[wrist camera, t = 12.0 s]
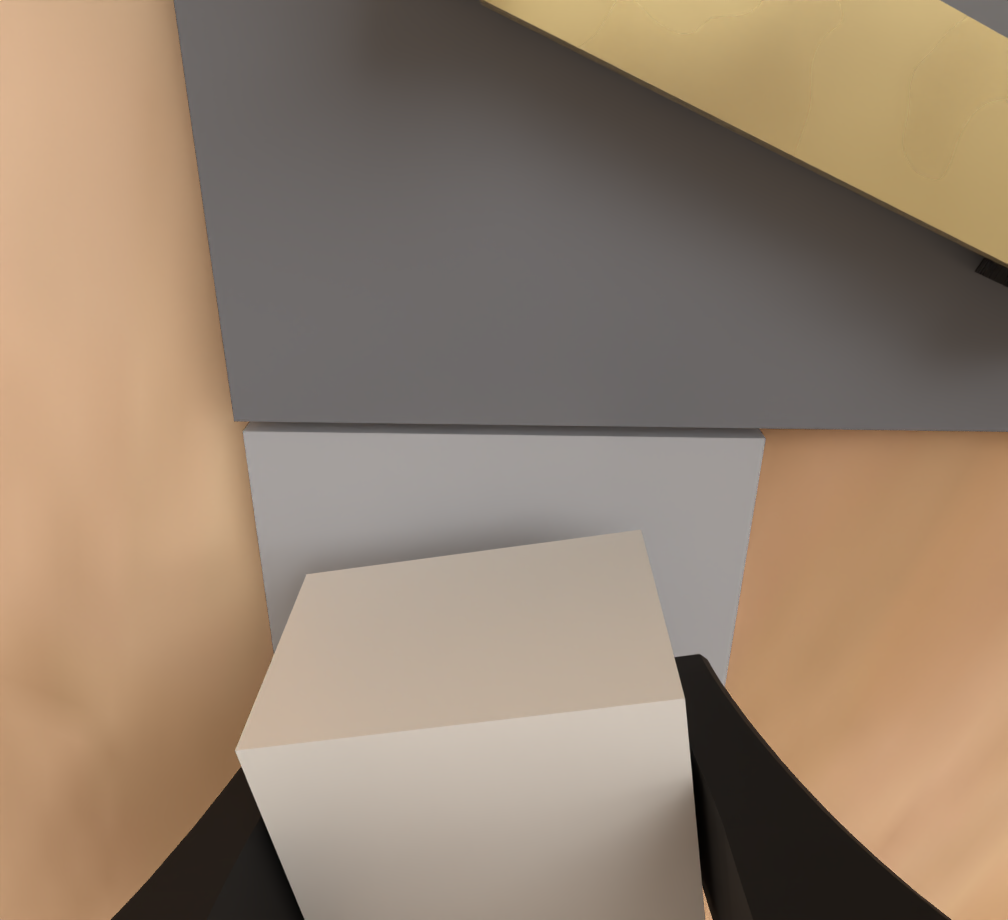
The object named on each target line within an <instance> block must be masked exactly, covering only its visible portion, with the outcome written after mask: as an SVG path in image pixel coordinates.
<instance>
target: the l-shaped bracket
mask: <svg viewBox="0 0 1008 920" xmlns="http://www.w3.org/2000/svg"><path fill="white" fill-rule="evenodd" d="M479 1H480V2H481V4H482V5H483V6H485V7H487V8H489V9H491V10H493V11H495V12H497V13H499V14H501V15H503V16H505V17H507V18H509V19H511V20H513V21H515V22H516V23H518V24H520V25H522V26H524V27H526V28H528V29H530V30H532V31H534V32H536V33H538V34H540V35H542V36H544V37H546V38H548V39H550V40H552V41H554V42H556V43H558V44H560V45H562V46H564V47H566V48H568V49H570V50H572V51H574V52H576V53H578V54H580V55H582V56H584V57H586V58H588V59H590V60H592V61H594V62H596V63H598V64H600V65H602V66H604V67H606V68H608V69H610V70H612V71H614V72H616V73H618V74H620V75H622V76H624V77H626V78H628V79H630V80H632V81H634V82H636V83H638V84H640V85H642V86H644V87H646V88H648V89H650V90H652V91H654V92H656V93H658V94H660V95H662V96H664V97H666V98H668V99H670V100H672V101H674V102H676V103H678V104H680V105H682V106H684V107H686V108H688V109H690V110H692V111H694V112H696V113H698V114H700V115H702V116H704V117H706V118H708V119H710V120H712V121H714V122H716V123H718V124H720V125H722V126H724V127H726V128H728V129H730V130H732V131H734V132H736V133H737V134H739V135H741V136H743V137H745V138H747V139H749V140H751V141H753V142H755V143H757V144H759V145H761V146H763V147H765V148H767V149H769V150H771V151H773V152H775V153H777V154H779V155H781V156H783V157H785V158H787V159H789V160H791V161H793V162H795V163H797V164H799V165H801V166H803V167H805V168H807V169H809V170H811V171H813V172H815V173H817V174H819V175H821V176H823V177H825V178H827V179H829V180H831V181H833V182H835V183H837V184H839V185H841V186H843V187H845V188H847V189H849V190H851V191H853V192H855V193H857V194H859V195H861V196H863V197H865V198H867V199H869V200H871V201H873V202H875V203H877V204H879V205H881V206H883V207H885V208H887V209H889V210H891V211H893V212H895V213H897V214H899V215H901V216H903V217H905V218H907V219H909V220H911V221H913V222H915V223H917V224H919V225H921V226H923V227H925V228H927V229H929V230H931V231H933V232H935V233H937V234H939V235H941V236H943V237H945V238H947V239H949V240H951V241H953V242H955V243H957V244H959V245H960V246H962V247H964V248H966V249H968V250H970V251H972V252H974V253H976V254H978V255H980V256H982V257H984V258H983V259H982V261H981V262H980V264H979V265H978V267H977V268H976V270H975V271H974V272H976V273H978V274H980V275H982V276H984V277H986V278H988V279H990V280H992V281H994V282H996V283H998V284H1000V285H1002V286H1004V287H1006V288H1008V38H1006V37H1005V36H1003V35H1001V34H999V33H997V32H996V31H994V30H992V29H990V28H989V27H987V26H985V25H983V24H981V23H980V22H978V21H976V20H974V19H973V18H971V17H969V16H967V15H965V14H964V13H962V12H960V11H958V10H956V9H955V8H953V7H951V6H949V5H948V4H946V3H944V2H942V1H940V0H479Z"/></svg>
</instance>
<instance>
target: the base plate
mask: <svg viewBox="0 0 1008 920" xmlns="http://www.w3.org/2000/svg"><path fill="white" fill-rule="evenodd" d="M940 1H942V2H944V3H946V4H948V5H949V6H951V7H953V8H955V9H956V10H958V11H960V12H962V13H964V14H965V15H967V16H969V17H971V18H973V19H974V20H976V21H978V22H980V23H981V24H983V25H985V26H987V27H989V28H990V29H992V30H994V31H996V32H997V33H999V34H1001V35H1003V36H1005V37H1006V38H1008V0H940ZM174 6H175V13H176V20H177V26H178V33H179V40H180V47H181V54H182V61H183V68H184V75H185V82H186V89H187V96H188V103H189V110H190V117H191V124H192V131H193V138H194V145H195V152H196V159H197V166H198V173H199V179H200V186H201V193H202V200H203V207H204V214H205V221H206V228H207V235H208V242H209V249H210V256H211V263H212V270H213V277H214V284H215V291H216V298H217V305H218V312H219V319H220V325H221V332H222V339H223V346H224V353H225V360H226V367H227V374H228V381H229V388H230V395H231V402H232V409H233V416H234V421H252V422H326V423H400V424H474V425H547V426H621V427H695V428H769V429H843V430H917V431H991V432H1008V288H1006V287H1004V286H1002V285H1000V284H998V283H996V282H994V281H992V280H990V279H988V278H986V277H984V276H982V275H980V274H978V273H976V272H974V271H975V270H976V268H977V267H978V265H979V264H980V262H981V261H982V259H983V258H984V257H982V256H980V255H978V254H976V253H974V252H972V251H970V250H968V249H966V248H964V247H962V246H960V245H959V244H957V243H955V242H953V241H951V240H949V239H947V238H945V237H943V236H941V235H939V234H937V233H935V232H933V231H931V230H929V229H927V228H925V227H923V226H921V225H919V224H917V223H915V222H913V221H911V220H909V219H907V218H905V217H903V216H901V215H899V214H897V213H895V212H893V211H891V210H889V209H887V208H885V207H883V206H881V205H879V204H877V203H875V202H873V201H871V200H869V199H867V198H865V197H863V196H861V195H859V194H857V193H855V192H853V191H851V190H849V189H847V188H845V187H843V186H841V185H839V184H837V183H835V182H833V181H831V180H829V179H827V178H825V177H823V176H821V175H819V174H817V173H815V172H813V171H811V170H809V169H807V168H805V167H803V166H801V165H799V164H797V163H795V162H793V161H791V160H789V159H787V158H785V157H783V156H781V155H779V154H777V153H775V152H773V151H771V150H769V149H767V148H765V147H763V146H761V145H759V144H757V143H755V142H753V141H751V140H749V139H747V138H745V137H743V136H741V135H739V134H737V133H736V132H734V131H732V130H730V129H728V128H726V127H724V126H722V125H720V124H718V123H716V122H714V121H712V120H710V119H708V118H706V117H704V116H702V115H700V114H698V113H696V112H694V111H692V110H690V109H688V108H686V107H684V106H682V105H680V104H678V103H676V102H674V101H672V100H670V99H668V98H666V97H664V96H662V95H660V94H658V93H656V92H654V91H652V90H650V89H648V88H646V87H644V86H642V85H640V84H638V83H636V82H634V81H632V80H630V79H628V78H626V77H624V76H622V75H620V74H618V73H616V72H614V71H612V70H610V69H608V68H606V67H604V66H602V65H600V64H598V63H596V62H594V61H592V60H590V59H588V58H586V57H584V56H582V55H580V54H578V53H576V52H574V51H572V50H570V49H568V48H566V47H564V46H562V45H560V44H558V43H556V42H554V41H552V40H550V39H548V38H546V37H544V36H542V35H540V34H538V33H536V32H534V31H532V30H530V29H528V28H526V27H524V26H522V25H520V24H518V23H516V22H515V21H513V20H511V19H509V18H507V17H505V16H503V15H501V14H499V13H497V12H495V11H493V10H491V9H489V8H487V7H485V6H483V5H482V4H481V2H480V1H479V0H174Z"/></svg>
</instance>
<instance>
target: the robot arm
mask: <svg viewBox="0 0 1008 920" xmlns="http://www.w3.org/2000/svg"><path fill="white" fill-rule="evenodd" d="M674 658H675V662H676V666H677V670H678V673H679V677H680V681H681V685H682V689H683V693H684V697H685V704H686V715H687V726H688V737H689V748H690V759H691V769H692V780H693V791H694V802H695V813H696V824H697V835H698V846H699V857H700V868H701V879H702V886H703V890H704V893H705V896H706V899H707V903H708V906H709V909H710V912H711V915H712V919H713V920H951V919H950V918H949V917H947V916H946V915H945V914H944V913H942V912H941V911H940V910H939V909H937V908H936V907H935V906H933V905H932V904H931V903H930V902H928V901H927V900H926V899H924V898H923V897H922V896H921V895H919V894H918V893H917V892H916V891H914V890H913V889H912V888H911V887H910V886H909V885H907V884H906V883H905V882H904V881H903V880H902V879H901V878H899V877H898V876H897V875H896V874H895V873H894V872H893V871H891V870H890V869H889V868H888V867H887V866H886V865H884V864H883V863H882V862H881V861H880V860H879V859H878V858H877V857H875V856H874V855H873V854H872V853H871V852H870V851H869V850H868V849H867V848H866V847H865V846H864V845H863V844H861V843H860V842H859V841H858V840H857V839H856V838H855V837H854V836H853V835H852V834H851V833H850V832H849V831H848V830H847V829H846V828H845V827H844V826H842V825H841V824H840V823H839V822H838V821H837V820H836V819H835V818H834V817H833V816H832V815H831V814H830V813H829V812H828V811H827V810H826V808H825V807H824V806H823V805H822V804H821V803H820V802H819V801H818V800H817V799H816V798H815V797H814V796H813V795H812V794H811V793H810V792H809V791H808V789H807V788H806V787H805V786H804V785H803V784H802V783H801V782H800V781H799V780H798V779H797V778H796V776H795V775H794V774H793V773H792V772H791V771H790V770H789V769H788V767H787V766H786V765H785V764H784V763H783V762H782V761H781V759H780V758H779V757H778V756H777V755H776V753H775V752H774V751H773V750H772V749H771V747H770V746H769V745H768V744H767V743H766V741H765V740H764V739H763V738H762V737H761V735H760V734H759V733H758V732H757V730H756V729H755V728H754V727H753V725H752V724H751V723H750V722H749V720H748V719H747V718H746V716H745V715H744V714H743V712H742V711H741V710H740V708H739V707H738V705H737V704H736V703H735V701H734V700H733V699H732V697H731V696H730V694H729V693H728V692H727V690H726V689H725V687H724V686H723V684H722V683H721V681H720V680H719V678H718V676H717V675H716V673H715V672H714V670H713V668H712V666H711V665H710V663H709V661H708V659H706V658H705V657H704V656H702V655H701V654H694V655H687V656H679V657H674ZM111 920H304V917H303V915H302V912H301V910H300V907H299V905H298V903H297V900H296V898H295V895H294V893H293V890H292V888H291V886H290V883H289V881H288V878H287V876H286V873H285V871H284V869H283V866H282V864H281V861H280V859H279V856H278V854H277V852H276V849H275V847H274V844H273V842H272V839H271V837H270V835H269V832H268V830H267V827H266V825H265V822H264V820H263V818H262V815H261V813H260V810H259V808H258V806H257V803H256V801H255V798H254V796H253V793H252V791H251V789H250V786H249V784H248V781H247V779H246V776H245V774H244V772H243V769H242V767H241V768H240V769H239V770H238V771H237V773H236V774H235V775H234V777H233V778H232V779H231V781H230V782H229V783H228V785H227V786H226V787H225V788H224V790H223V791H222V792H221V793H220V795H219V796H218V797H217V798H216V800H215V801H214V802H213V803H212V805H211V806H210V807H209V809H208V810H207V811H206V812H205V814H204V815H203V816H202V817H201V819H200V820H199V821H198V822H197V824H196V825H195V826H194V827H193V828H192V830H191V831H190V832H189V833H188V834H187V835H186V837H185V838H184V839H183V840H182V841H181V842H180V844H179V845H178V846H177V847H176V848H175V849H174V851H173V852H172V853H171V854H170V855H169V856H168V858H167V859H166V860H165V861H164V862H163V863H162V865H161V866H160V867H159V868H158V869H157V870H156V872H155V873H154V874H153V875H152V876H151V877H150V879H149V880H148V881H147V882H146V883H145V884H144V885H143V886H142V887H141V888H140V890H139V891H138V892H137V893H136V894H135V895H134V896H133V897H132V898H131V899H130V900H129V901H128V902H127V903H126V904H125V905H124V907H123V908H122V909H121V910H120V911H119V912H118V913H117V914H116V915H115V916H114V917H113V918H112V919H111Z"/></svg>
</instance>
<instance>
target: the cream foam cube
mask: <svg viewBox="0 0 1008 920" xmlns="http://www.w3.org/2000/svg"><path fill="white" fill-rule="evenodd" d="M235 752H236V755H237V757H238V759H239V762H240V764H241V767H242V769H243V772H244V774H245V776H246V779H247V781H248V784H249V786H250V789H251V791H252V793H253V796H254V798H255V801H256V803H257V806H258V808H259V810H260V813H261V815H262V818H263V820H264V822H265V825H266V827H267V830H268V832H269V835H270V837H271V839H272V842H273V844H274V847H275V849H276V852H277V854H278V856H279V859H280V861H281V864H282V866H283V869H284V871H285V873H286V876H287V878H288V881H289V883H290V886H291V888H292V890H293V893H294V895H295V898H296V900H297V903H298V905H299V907H300V910H301V912H302V915H303V917H304V920H705V912H704V901H703V890H702V879H701V868H700V857H699V846H698V835H697V824H696V813H695V802H694V791H693V780H692V769H691V759H690V748H689V737H688V726H687V715H686V704H685V697H684V693H683V689H682V685H681V681H680V677H679V673H678V670H677V666H676V662H675V658H674V654H673V650H672V647H671V643H670V639H669V635H668V631H667V627H666V624H665V620H664V616H663V612H662V608H661V604H660V601H659V597H658V593H657V589H656V585H655V581H654V577H653V574H652V570H651V566H650V562H649V558H648V554H647V551H646V547H645V543H644V539H643V535H642V531H641V530H634V531H626V532H619V533H611V534H604V535H596V536H589V537H581V538H574V539H566V540H559V541H552V542H544V543H537V544H529V545H522V546H514V547H507V548H499V549H492V550H484V551H477V552H469V553H462V554H454V555H447V556H439V557H432V558H424V559H417V560H410V561H402V562H395V563H387V564H380V565H372V566H365V567H357V568H350V569H342V570H335V571H327V572H320V573H312V574H306V577H305V579H304V582H303V584H302V587H301V589H300V592H299V594H298V596H297V599H296V601H295V604H294V606H293V609H292V611H291V614H290V616H289V619H288V621H287V624H286V626H285V628H284V631H283V633H282V636H281V638H280V641H279V643H278V646H277V648H276V651H275V653H274V656H273V658H272V661H271V663H270V665H269V668H268V670H267V673H266V675H265V678H264V680H263V683H262V685H261V688H260V690H259V693H258V695H257V698H256V700H255V702H254V705H253V707H252V710H251V712H250V715H249V717H248V720H247V722H246V725H245V727H244V730H243V732H242V734H241V737H240V739H239V742H238V744H237V747H236V749H235Z"/></svg>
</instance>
